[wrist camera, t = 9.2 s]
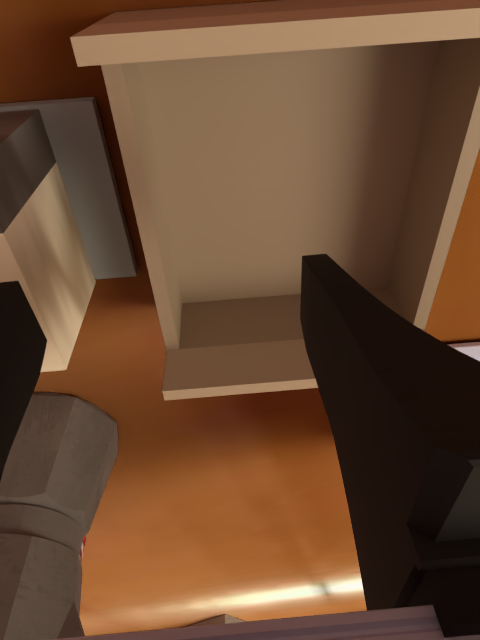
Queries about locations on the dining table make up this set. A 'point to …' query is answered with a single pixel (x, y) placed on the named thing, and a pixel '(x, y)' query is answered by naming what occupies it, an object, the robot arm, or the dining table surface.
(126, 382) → the dining table surface
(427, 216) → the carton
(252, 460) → the dining table surface
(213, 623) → the white tower
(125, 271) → the slate mat
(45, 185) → the box
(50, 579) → the coffeepot
